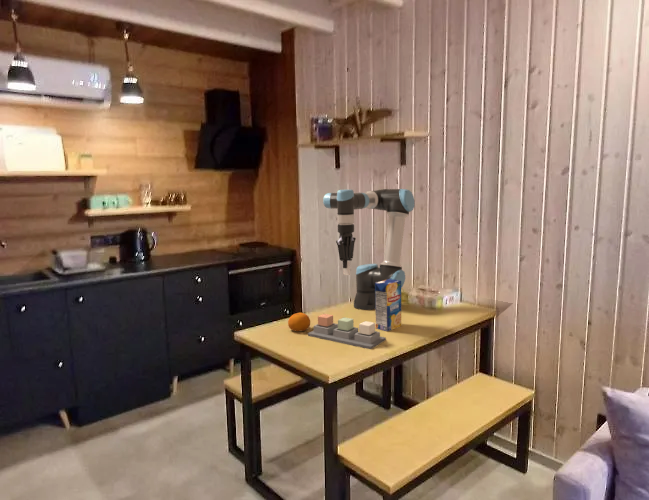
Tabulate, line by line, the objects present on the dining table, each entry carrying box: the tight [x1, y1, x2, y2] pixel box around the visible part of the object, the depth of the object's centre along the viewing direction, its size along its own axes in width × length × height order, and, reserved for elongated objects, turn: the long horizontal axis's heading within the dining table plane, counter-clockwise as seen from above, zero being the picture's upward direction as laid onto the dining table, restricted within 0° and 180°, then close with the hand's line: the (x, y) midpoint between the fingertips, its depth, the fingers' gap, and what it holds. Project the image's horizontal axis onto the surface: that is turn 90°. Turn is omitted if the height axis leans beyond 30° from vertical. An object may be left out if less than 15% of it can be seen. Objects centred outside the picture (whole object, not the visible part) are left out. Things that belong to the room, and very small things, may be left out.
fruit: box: [287, 312, 311, 332], centre depth 230 cm, size 10×10×8 cm
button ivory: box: [358, 320, 376, 335], centre depth 210 cm, size 5×5×4 cm
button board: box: [307, 322, 387, 350], centre depth 217 cm, size 13×33×4 cm, turn 54°
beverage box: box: [374, 279, 402, 332], centre depth 229 cm, size 7×11×22 cm, turn 135°
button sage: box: [337, 317, 355, 331], centre depth 217 cm, size 5×5×4 cm
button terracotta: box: [317, 313, 334, 327], centre depth 223 cm, size 5×5×4 cm
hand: (346, 274), depth 225 cm, fingers closed
